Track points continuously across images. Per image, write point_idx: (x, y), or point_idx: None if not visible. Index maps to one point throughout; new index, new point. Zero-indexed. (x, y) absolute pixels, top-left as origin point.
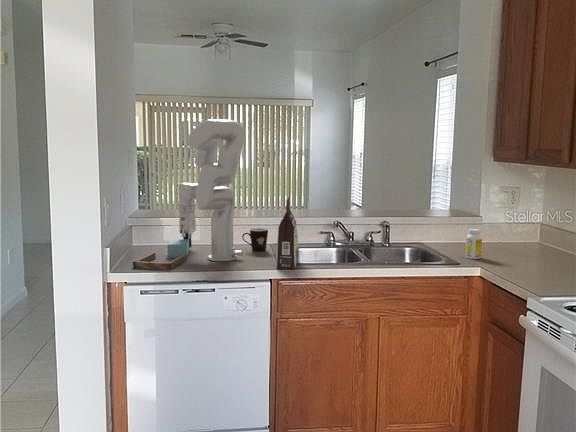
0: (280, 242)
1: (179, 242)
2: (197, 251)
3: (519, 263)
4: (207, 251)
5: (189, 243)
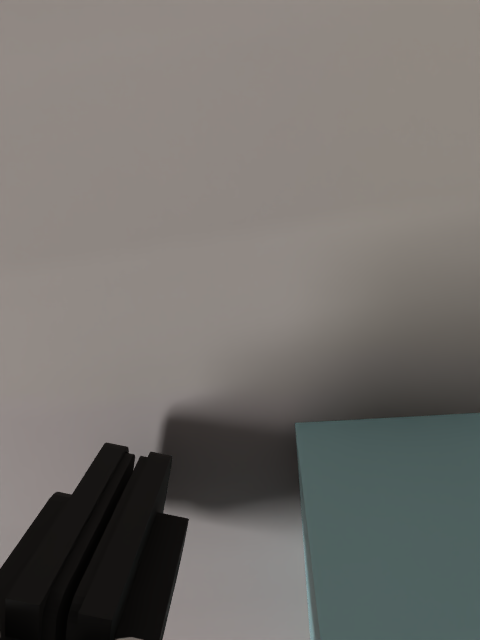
0: None
1: None
2: (290, 281)
3: None
4: (291, 45)
5: (146, 532)
